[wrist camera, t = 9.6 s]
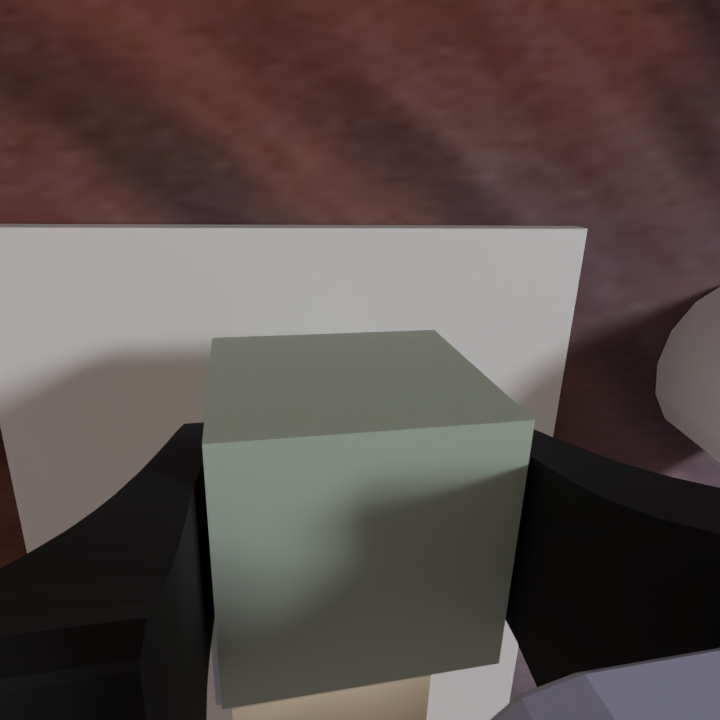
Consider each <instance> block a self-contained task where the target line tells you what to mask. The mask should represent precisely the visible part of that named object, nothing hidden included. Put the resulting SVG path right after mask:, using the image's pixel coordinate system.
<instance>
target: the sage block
mask: <svg viewBox="0 0 720 720" xmlns="http://www.w3.org/2000/svg"><path fill="white" fill-rule="evenodd" d="M534 424H535V420H534V419H533V418H532V417H531V416H530V415H529V414H528V413H527V412H525V411H524V410H523V409H522V408H521V407H520V406H519V405H518V404H517V403H515V402H514V401H513V400H512V399H511V398H510V397H509V396H508V395H506V394H505V393H504V392H503V391H502V390H501V389H500V388H499V387H498V386H496V385H495V384H494V383H493V382H492V381H491V380H490V379H489V378H487V377H486V376H485V375H484V374H483V373H482V372H481V371H480V370H479V369H477V368H476V367H475V366H474V365H473V364H472V363H471V362H470V361H468V360H467V359H466V358H465V357H464V356H463V355H462V354H461V353H460V352H458V351H457V350H456V349H455V348H454V347H453V346H452V345H451V344H449V343H448V342H447V341H446V340H445V339H444V338H443V337H442V336H441V335H439V334H438V333H437V332H436V331H435V330H417V331H389V332H361V333H333V334H306V335H278V336H250V337H222V338H212V347H211V357H210V367H209V377H208V388H207V398H206V408H205V418H204V429H203V439H202V451H203V465H204V478H205V491H206V505H207V518H208V531H209V545H210V558H211V572H212V585H213V598H214V612H215V625H216V638H217V652H218V665H219V678H220V692H221V705H222V709H228V708H234V707H240V706H246V705H252V704H258V703H264V702H270V701H276V700H282V699H288V698H294V697H300V696H306V695H312V694H318V693H324V692H330V691H336V690H342V689H348V688H354V687H360V686H366V685H372V684H378V683H384V682H390V681H396V680H402V679H408V678H414V677H420V676H426V675H432V674H438V673H444V672H450V671H456V670H462V669H468V668H474V667H480V666H486V665H492V664H498V663H499V659H500V652H501V646H502V639H503V632H504V626H505V619H506V612H507V605H508V599H509V592H510V585H511V578H512V572H513V565H514V558H515V552H516V545H517V538H518V531H519V525H520V518H521V511H522V504H523V498H524V491H525V484H526V478H527V471H528V464H529V457H530V451H531V444H532V437H533V431H534Z"/></svg>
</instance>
